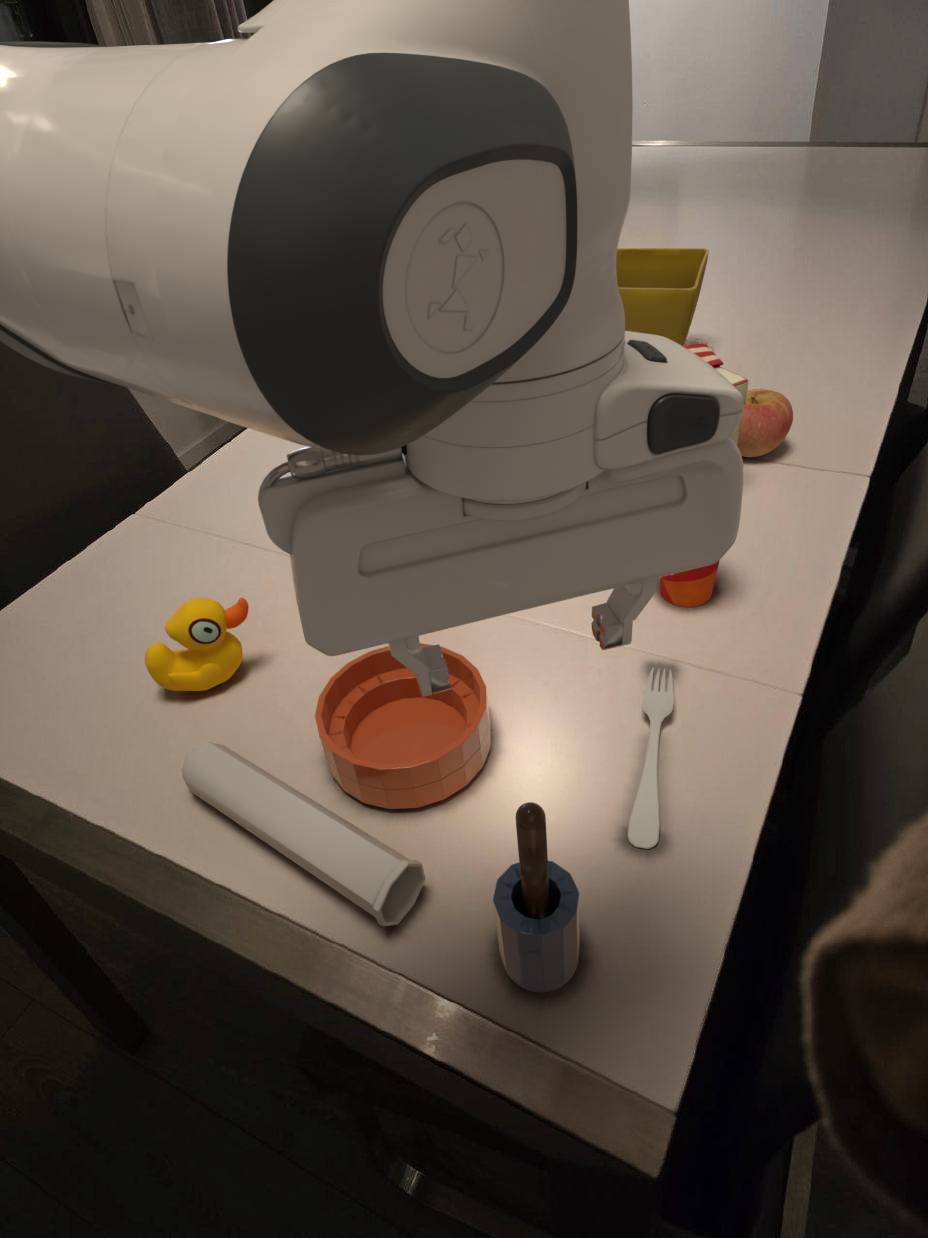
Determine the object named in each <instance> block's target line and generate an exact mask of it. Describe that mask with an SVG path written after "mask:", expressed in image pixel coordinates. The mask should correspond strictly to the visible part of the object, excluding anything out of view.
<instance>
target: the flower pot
mask: <svg viewBox="0 0 928 1238" xmlns="http://www.w3.org/2000/svg"><path fill="white" fill-rule="evenodd" d="M709 253H710V250H709V249H707V248H703V247H657V248H656V247H652V248H651V247H630V248H629V247H627V248H626V247H624V248H623V247H622V248H619V247H618V248H617V255H616V273H617V283H618V288H619V293H620V296H621V300H622V303H623V308H624V312H625V331H630V332H638V333H645V334H653V335H658V336H663V337H666V338H668V339H670V340H672V341H674V342H676V343H678V344H680V345H681V346H683V347H684V346H685V344H686V341H687V337H688V335H689V332H690V331H689V330H690V329H691V325H692V323H693V319H694V317H695V316H694V315H695V312H696V308H697V306H698V302H699V298H700V294H701V291H702V286H703V282H704V277H705V273H706V270H707V269H706V268H707V265H708V264H707V263H708V260H709Z"/></svg>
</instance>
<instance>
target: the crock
mask: <svg viewBox="0 0 928 1238" xmlns="http://www.w3.org/2000/svg"><path fill="white" fill-rule="evenodd" d="M548 875H549V896H550V916H547V917H545V918H542V919H533V918H526V917H525V916H524V908H523V897H522V886H521V875H520V863H519V862H515V863H513V864H511V865H509V867H507V868H506V870H505V871H504V872H503V873H502V874H501V875H500V876H499V877H498V878H497V879H496V880H497V881H496V883H495V887H494V892H493V897H492V904H493V911H494V920H495V925H496V933H497V942H498V949H499V955H500V957H501V960H502V961H501V962H502V965H503V968H504V970H505V973H506V974H507V976H508V977H509V978H510V979H511V981H513V982H514V984H516V985H517V986H518V987H520V988H522V989H524V990H526V991H529V992H533V993H539V994H540V993H550V992H553V991H556V990H558V989H560V988H562V987H563V986H565V985H566V984H568V982H569V981H570V980H571V979H572V978H573V976H574V975H575V973H576V971H577V969H578V966H579V965H578V964H579V958H580V957H579V956H580V947H581V946H580V941H581V940H580V891H579V888H578V887H577V884H576V882H575V880H574V878H573V875H572V874H571V873H570V872H569V871H568V870H566V869H565V868H564V867H562V866H560V865H559V864H558V863H556V862H555V861H552V860H548Z"/></svg>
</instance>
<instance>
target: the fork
mask: <svg viewBox="0 0 928 1238" xmlns="http://www.w3.org/2000/svg"><path fill="white" fill-rule="evenodd" d="M654 674H655V667H652V668H651V670H650V672H649V674H648V677H647V679H646V682H645V686H644V690H643V693H642V698H641V707H642V710H643V712H644V713H645V714H646V715H647V717H648V719H649V732H648V733H649V735H648V741H647V748H646V753H645V759H644V764H643V769H642V773H641V778H640V781H639V785H638V788H637V791H636V795H635V798H634V800H633V801H634V802H633V805H632V808H631V811H630V816H629V820H628V828H627V836H626V837H627V839H628V841H629V843H630V844H631V845H633V847H635V848H640V849H645V850H649V849H652V848H654V847H655V846H657V844H658V843H659V836H660V826H661V822H660V820H661V819H660V799H659V783H658V778H659V777H658V774H659V773H658V762H659V761H658V760H659V745H660V732H661V726H662V722H664V719H665V718H666V717H668V716H670V714H672V711H673V709H674V704H675V703H674V702H675V692H674V678H673V677H674V676H673V672H672V669H669V673H668V678H667V674H666V668H663V671H662V673H661V668H660V667H658V669H657V672H656V674H655V678H654ZM661 674H662V675H661ZM660 676H661V677H660ZM660 679H661V680H660ZM667 679H668V680H667ZM653 681H654V682H653Z"/></svg>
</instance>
